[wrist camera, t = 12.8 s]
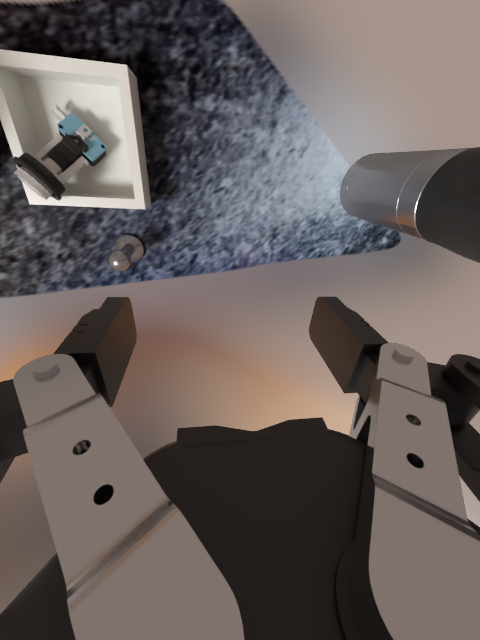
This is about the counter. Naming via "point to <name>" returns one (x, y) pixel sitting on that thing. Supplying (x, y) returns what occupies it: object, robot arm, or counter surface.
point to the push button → (60, 157)
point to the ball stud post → (126, 252)
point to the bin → (92, 109)
